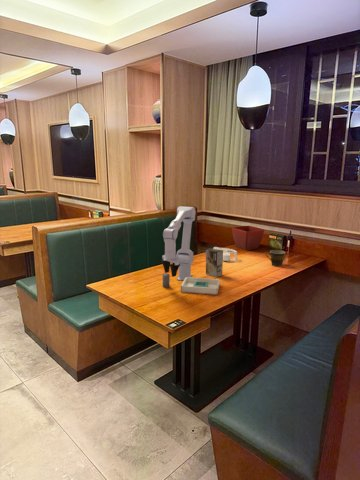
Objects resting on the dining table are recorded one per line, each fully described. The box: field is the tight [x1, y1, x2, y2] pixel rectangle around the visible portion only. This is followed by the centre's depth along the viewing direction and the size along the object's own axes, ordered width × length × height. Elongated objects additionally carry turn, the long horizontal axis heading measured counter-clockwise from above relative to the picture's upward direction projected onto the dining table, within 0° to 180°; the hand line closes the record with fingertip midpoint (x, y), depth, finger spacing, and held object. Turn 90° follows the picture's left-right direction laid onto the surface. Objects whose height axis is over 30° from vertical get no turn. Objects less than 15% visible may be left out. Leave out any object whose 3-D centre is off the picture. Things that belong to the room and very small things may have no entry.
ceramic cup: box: [265, 249, 286, 268], centre depth 233 cm, size 13×10×10 cm
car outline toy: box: [213, 246, 238, 263], centre depth 248 cm, size 20×11×7 cm, turn 37°
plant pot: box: [231, 225, 265, 251], centre depth 278 cm, size 19×19×17 cm
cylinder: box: [162, 272, 171, 288], centre depth 195 cm, size 4×4×7 cm
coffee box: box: [205, 247, 224, 278], centre depth 214 cm, size 9×6×16 cm
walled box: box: [180, 276, 221, 296], centre depth 192 cm, size 15×20×4 cm
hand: (170, 274), depth 186 cm, fingers open, 7 cm apart
